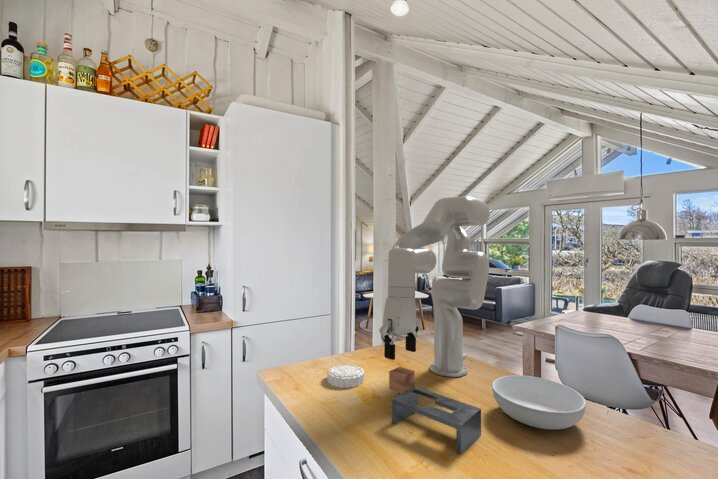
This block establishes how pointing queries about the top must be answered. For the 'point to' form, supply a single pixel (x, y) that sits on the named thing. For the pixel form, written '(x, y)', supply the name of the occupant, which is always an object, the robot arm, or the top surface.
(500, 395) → the serving bowl
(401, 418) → the keyhole bracket
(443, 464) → the top surface
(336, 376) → the mooncake
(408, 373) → the keyhole peg
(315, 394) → the top surface
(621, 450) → the top surface
